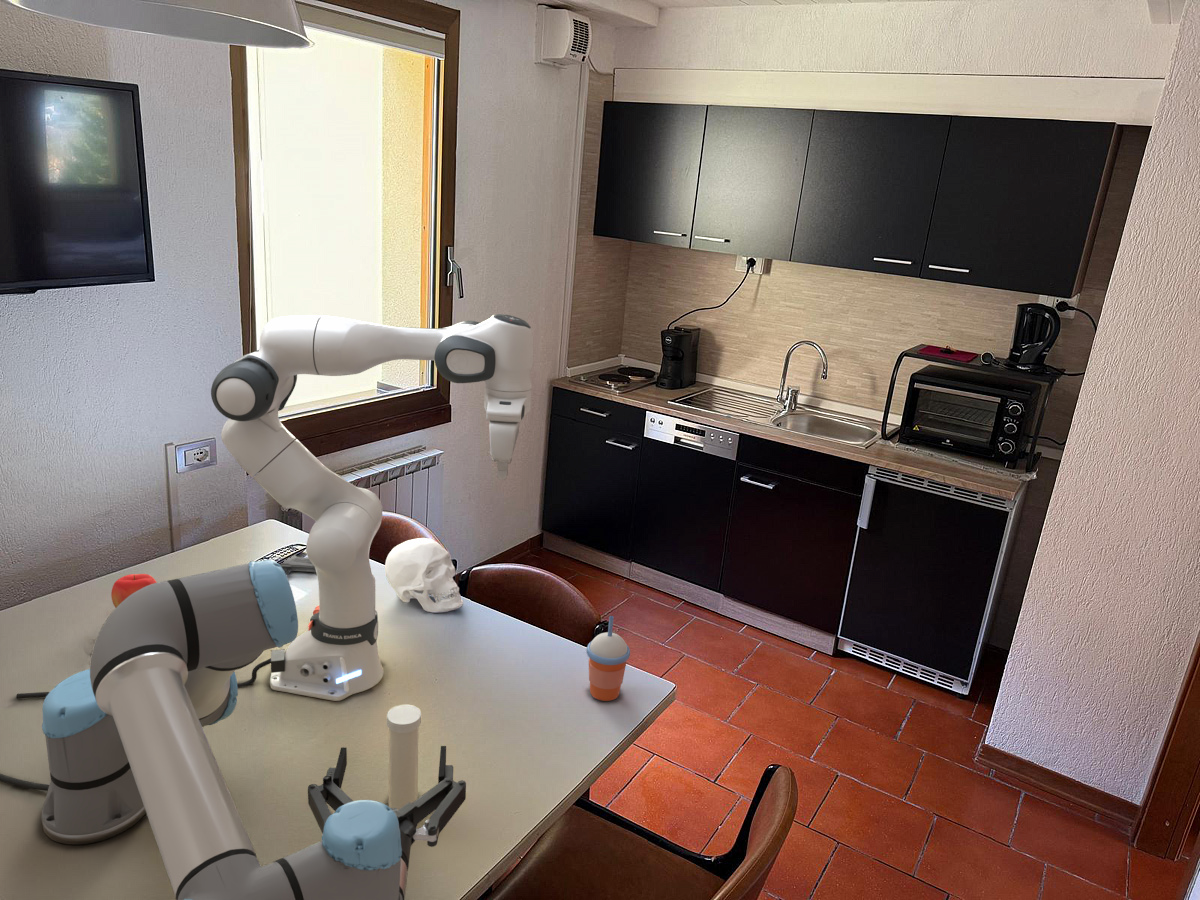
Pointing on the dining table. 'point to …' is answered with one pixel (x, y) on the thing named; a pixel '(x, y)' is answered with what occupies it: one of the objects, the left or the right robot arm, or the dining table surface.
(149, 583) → the apple
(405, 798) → the beige cylinder
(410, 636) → the dining table surface
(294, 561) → the handgun
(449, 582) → the skull
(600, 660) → the cup with straw
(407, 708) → the lid
